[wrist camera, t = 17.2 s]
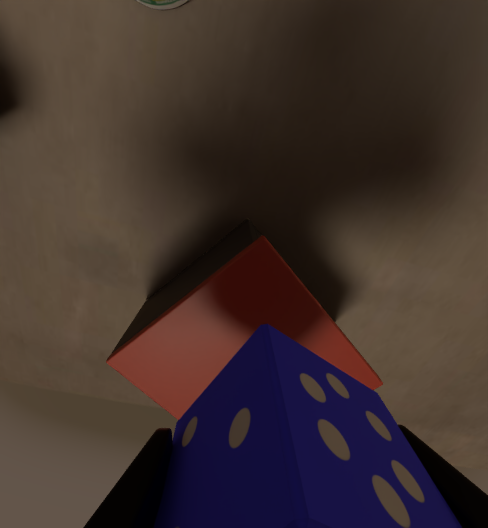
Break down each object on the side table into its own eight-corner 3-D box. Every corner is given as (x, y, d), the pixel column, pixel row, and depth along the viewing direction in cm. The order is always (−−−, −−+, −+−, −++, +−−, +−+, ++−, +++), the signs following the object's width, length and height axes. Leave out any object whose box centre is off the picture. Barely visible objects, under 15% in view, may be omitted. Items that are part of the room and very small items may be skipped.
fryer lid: (263, 233, 12) (264, 237, 11) (378, 376, 15) (384, 384, 14) (110, 354, 14) (104, 362, 13) (238, 458, 17) (238, 468, 16)
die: (286, 473, 11) (328, 720, 6) (175, 421, 9) (117, 675, 5) (378, 391, 9) (525, 622, 5) (262, 318, 8) (303, 527, 3)
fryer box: (247, 217, 17) (252, 242, 12) (334, 324, 20) (368, 381, 15) (145, 301, 19) (110, 353, 14) (238, 387, 22) (238, 457, 17)
